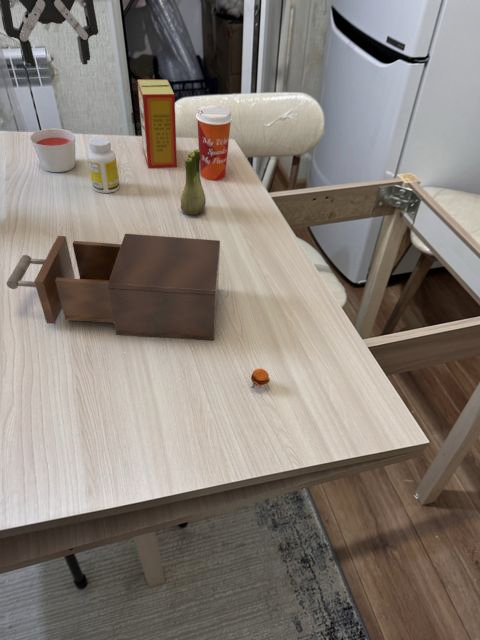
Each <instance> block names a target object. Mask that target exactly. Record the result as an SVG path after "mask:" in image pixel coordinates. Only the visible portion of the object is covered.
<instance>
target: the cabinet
mask: <svg viewBox="0 0 480 640" xmlns="http://www.w3.org/2000/svg"><path fill="white" fill-rule="evenodd" d="M120 244H121V247H120V250H119V253H118V256H117V259H116V262H115V265H114V267H113V270H112V273H111V276H110V279H109V282H108V288H109V294H110V300H111V306H112V312H113V318H114V323H113V324H114V329H115V335H117V336H133V337H149V338H151V337H152V338H165V339H166V338H168V339H182V340H199V341H214V340H215V333H216V321H217V320H216V319H217V310H218V309H217V308H218V307H217V306H218V295H219V277H220V276H219V275H220V253H221V252H220V251H221V240H218V239H217V240H216V239H203V238H192V237H177V236H165V235H164V236H162V235H151V234H150V235H149V234H137V233H136V234H135V233H124V236H123V239H122V241H121V243H120Z"/></svg>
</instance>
